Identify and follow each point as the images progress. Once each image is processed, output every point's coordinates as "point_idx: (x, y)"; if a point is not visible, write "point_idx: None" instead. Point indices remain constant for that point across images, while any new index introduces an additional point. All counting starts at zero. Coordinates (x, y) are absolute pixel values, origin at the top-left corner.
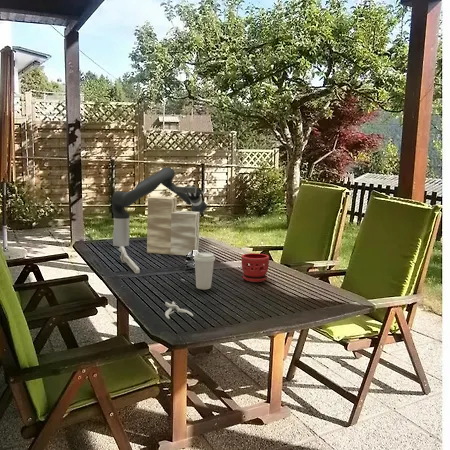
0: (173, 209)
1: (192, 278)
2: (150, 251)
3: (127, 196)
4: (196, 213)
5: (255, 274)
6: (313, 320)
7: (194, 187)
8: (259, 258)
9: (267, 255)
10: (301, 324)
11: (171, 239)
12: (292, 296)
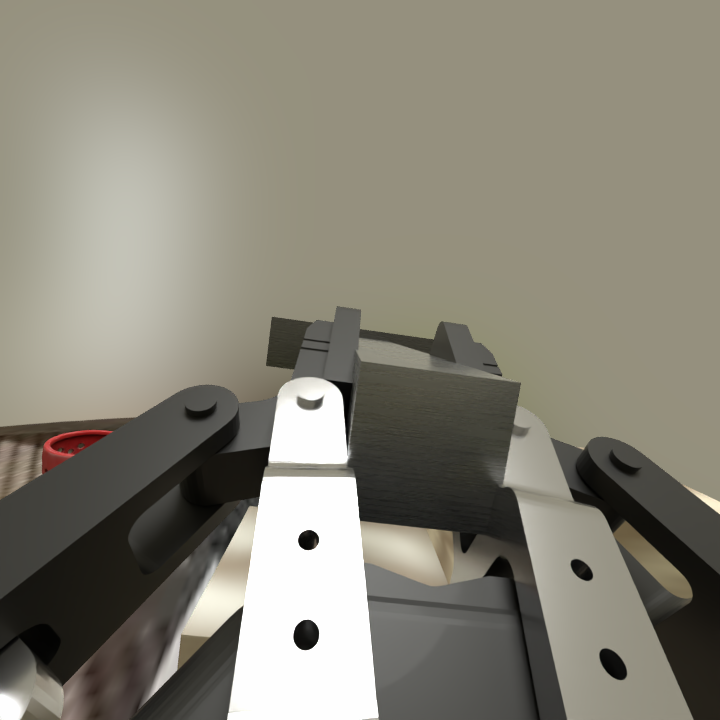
0: (444, 542)
1: (250, 504)
2: None
3: None
4: (236, 543)
5: None
6: (109, 419)
7: (290, 319)
8: (98, 430)
9: (49, 440)
10: (133, 417)
11: None
12: (70, 451)
